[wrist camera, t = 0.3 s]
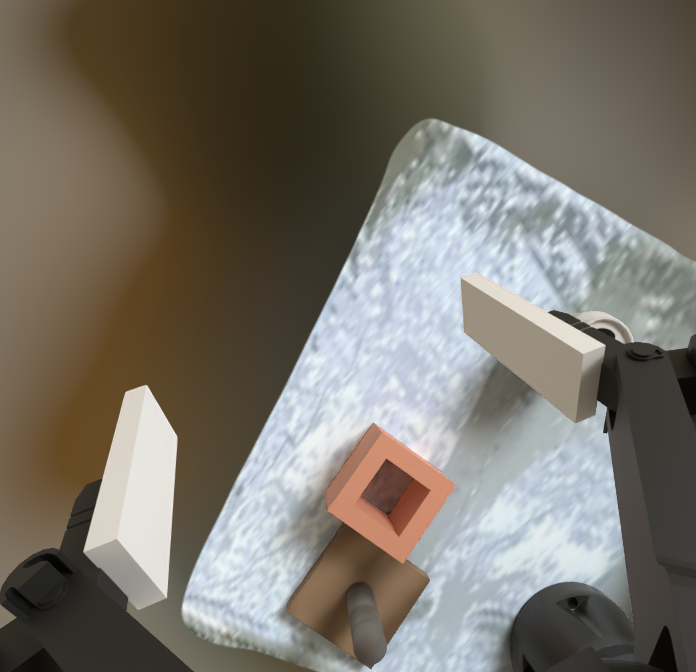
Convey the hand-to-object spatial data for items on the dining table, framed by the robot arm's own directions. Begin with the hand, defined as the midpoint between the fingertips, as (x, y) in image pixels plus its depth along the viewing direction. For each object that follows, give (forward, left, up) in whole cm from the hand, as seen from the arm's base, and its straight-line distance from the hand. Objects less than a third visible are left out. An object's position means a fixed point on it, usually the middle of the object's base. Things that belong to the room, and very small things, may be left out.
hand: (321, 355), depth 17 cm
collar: (-16, +8, -34) cm, 38 cm away
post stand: (-21, +20, -33) cm, 44 cm away
